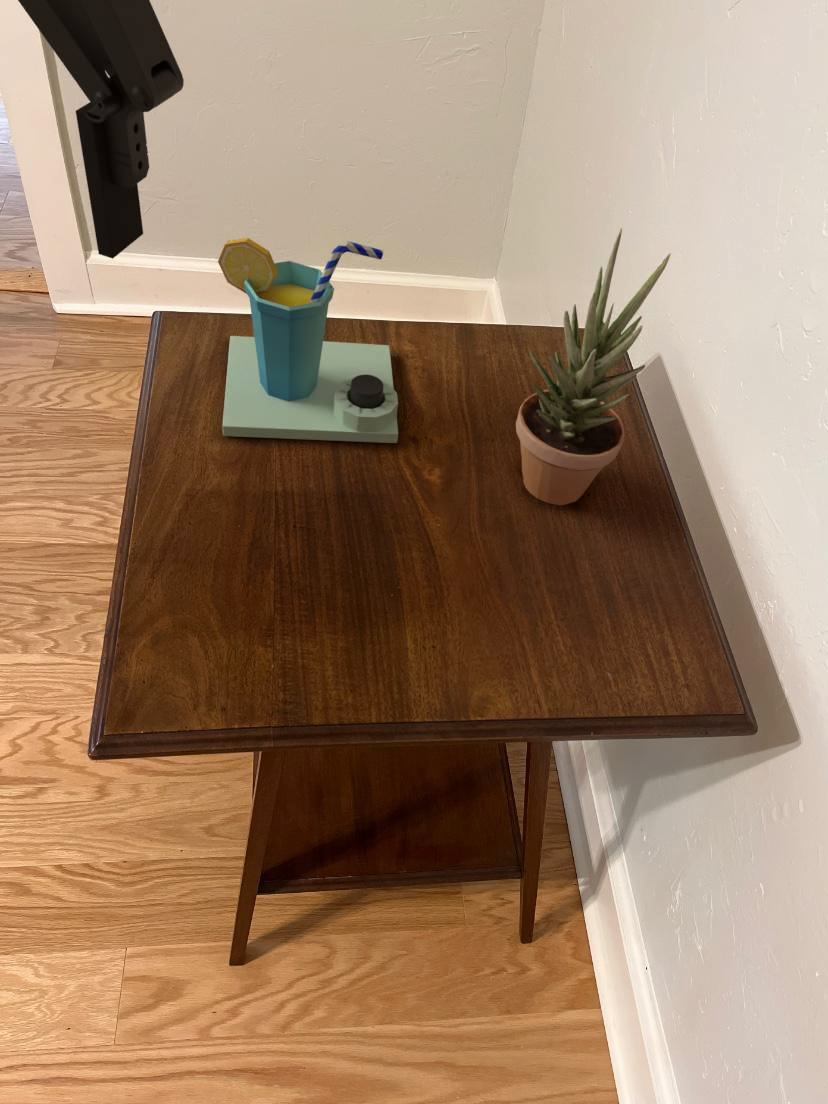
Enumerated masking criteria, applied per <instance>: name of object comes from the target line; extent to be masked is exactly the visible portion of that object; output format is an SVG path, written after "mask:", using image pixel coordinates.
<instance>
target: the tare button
mask: <svg viewBox="0 0 828 1104" xmlns="http://www.w3.org/2000/svg"><path fill="white" fill-rule="evenodd" d="M382 396H383V383H382V381H381V380H380V379H379V378H377V377H375V376H372V375H359V376H356V377H354V378H353V379H352V381H351V390H350V400H351V402H352V404H353V405H355V406H357V407H360V408H363V409H374V408H377V407H378V406H380V404H381V403H382Z"/></svg>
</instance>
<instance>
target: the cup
mask: <svg viewBox="0 0 828 1104" xmlns="http://www.w3.org/2000/svg"><path fill="white" fill-rule="evenodd" d="M345 253H351V254H355V255H360V256H364V257H368V258H372V259H375V260H380V261H381V260H382V258H383V255H384V250H383V249H379V248H377V247H376V248H375V247H373V246H368V245H364V244H361V243H358V242H353V241H349V240H345V241H343V242H341V243H339V244H338V245H337V246H336V247H335V248H334V249H333V250H332V252H331V254H330V256H329V258H328V261H327V263H326V265H325V267H324V269H323V271H322V270H321V269H318V268H315V267H312V266H308V265H305V264H301V263H298V262H295V261H292V260H286V261H280V262H275V261H274V259H273V256H272V254H271V251H270V250H268V249H266V248H265V247H264V246H262V245H260V244H259V243H258V242H256V241H254V240H252V239H251V238H249V237H243V238H237V239H231V240H230V239H229V240H226V242H225V244H224V246H223V248H222V251H221V253H220V255H219V258H218V260H217V263H218V266H219V267H220V269H221V272H222V274H223V276H224V278H225V280H226V282H227V283H228V284H229V285H231V286H233V287H234V288H236V289H238V290H239V291H241V292H243V293H245V294H246V295H247V296H248V298H249V305H250V313H251V320H252V327H253V337H255V345H256V353H257V361H258V368H259V376H260V383H261V384H262V386H263V388H264V389H265V391H266V392H267V394H268V395H269V396H272V397H276V398H279V399H282V400H286V401H293V400H297V399H302V398H307V397H309V396H310V394H311V393H312V391H313V390H314V389H315V387H316V386H317V380H318V373H319V366H320V359H321V352H322V346H323V341H324V338H325V331H326V325H327V317H328V311H329V304H330V303H331V301H332V299H333V296H334V293H335V287H334V286H333V285H332V284H331V282H330V280H331V278H332V276H333V275H334V273H335V270H336V268H337V266H338V264H339V261H340V259H341V257H342V255H344V254H345Z"/></svg>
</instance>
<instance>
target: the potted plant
mask: <svg viewBox="0 0 828 1104" xmlns="http://www.w3.org/2000/svg"><path fill="white" fill-rule="evenodd" d="M622 234H623V228H622V227H621V228H620V229H619V231H618V233H617V235H616V238H615V241H614V244H613V246H612V250H611V253H610V255H609V258H608V262H607V265H606V269H605V273H604V277H603V266H602V265H601V266H600V268H599V271H598V274H597V279H596V283H595V286H594V292H593V294H592V296H591V299H590V301H589V305H588V309H587V314H586V319H585V325H584V331H583V338H582V343H581V338H580V329H579V320H578V311H577V305H576V303H574V304H573V307H572V315H571V318H570V314H569V311H568V310H565V311H564V315H563V332H564V343H565V349H566V352H565V353H566V359H567V365H568V369H566V367H565V366H564V364H563V361H562V359H561V357H560V355H559V353H558V351H555V355H553V354H550V355H549V358H548V359H549V362H550V365H551V370H552V372H553V374H554V376H555V379H556V382H555V381H554V379H553V378H552V377H551V375H550V374H549V373H548V372H547V371H546V370H545V368H544V367H543V366H542V364H541V362H539V360H538V359H537V358H536V357H537V356H535V354H534V353H533V351H532V350H530V349H528V353H529V356H530V358H531V360H532V362H533V364H534V366H535V367H536V369H537V370H538V372H539V374H540V376H541V377H542V379H543V381H544V382H545V383H546V385H547V386H546V387H547V388H546V389H544V390H543V389H542V388H540V387H539V386H538V385H537V384H535V383H534V382H532V383H531V386H532V388H533V390H534V391H535V393H532V394H531V395H529V396H528V397H526V398H525V399H524V400H523V402H522V403H521V405H520V407H519V410H518V414H517V418H516V421H515V431H516V435H517V437H518V439H519V441H520V454H521V455H520V456H521V473H522V478H523V484H524V488H525V489H526V490H527V492H528V493H530V494H531V496H533V497H534V498H536V499H537V500H538V501H539V500H540V501H542V502H544V503H546V504H551V505H554V506H565V505H569V504H572V503H575V502H577V501H578V500H579V499H580V498H581V497H582V496H583V495H584V493H585V492H586V490H587V489H588V488H589V487H590V485H591V484H592V483H593V482H594V480H595V478H597V476H598V475H599V473H600V472H601V470H602V469H603V468H604V467H605V466H608V465H609V464H611V463H612V462H613V461H614V460H615V458H616V457H617V456H618V454H619V452H620V450H621V448H622V446H623V443H624V439H625V427H624V424H623V422H622V420H621V418H620V416H619V414H618V413H616V412H615V411H614V409H612V408H615V407H616V406H618V405H619V404H621V403H622V402H623V401H625V400H626V399H627V398H628V397H629V396H630V395H631V394H630V393H627V394H625V395H622V396H620V397H618V398H616V399H613V400H610V401H608V402H604V401H605V400H607V399H609V398H610V397H611V396H613V395H614V394H616V393H618V392H619V391H621V390H622V389H623V388H625V387H626V386H628V385H629V384H630V383H632V382H633V381H635V380H636V379H637V377H638V374H639V373H641V372H642V371H643V370H644V369H645V367H646V364H643V365H641V366H639V367H637V368H633V369H631V370H627V371H625V372H621V373H619V374H615V375H610V376H606V375H607V373H608V372H609V371H610V370H611V369H612V368H613V367H614V366H615V365H616V364H617V363H618V362H619V361H620V360H621V358H623V357H624V355H625V354H626V353H627V352H628V351H629V349H630V348H631V347H632V346H633V345H634V343H635V342H636V341H637V339H638V337H639V336H640V334H641V332H642V329H643V328H644V326H643V325H639V323H640V321H642V317H643V315H640V316H639V317H638V318H637V319H636V320H635V321H634V322H632V323H631V324H630V325H629V326H628V324H629V323H630V322H631V320H632V319H633V318H634V316H635V315H636V313H637V312H638V310H639V309H640V308H641V306H643V303H644V302H645V300H646V299H647V298H648V296H649V294H650V292H651V291H652V290H653V288H654V287H655V285H656V283H657V282H658V280H659V279H660V277H661V275H662V274H663V272H664V270H665V269H666V267H667V264H668V263H669V260H670V257H671V255H672V252H670V253H668V254H667V256H666V257H665V258H664V259H663V260H662V262H661V264H659V266H657V267H656V269H655V270H654V271H653V273H652V274H651V275H650V276H649V277H648V279H646V281H645V282H644V283H643V284H642V286H641V287H640V288H639V290H637V292H636V293H635V295H634V296H633V297H632V298H631V299H630V301H628V303H627V304H626V306H625V307H624V308H623V310H622V311H621V312H620V313H619V315H618V316H617V318H616V319H615V320H614V321H612V322H611V320H612V316H613V315H612V314H613V310H614V305H615V302H613V303H612V305H611V307H610V310H609V312H608V314H607V317H606V318H605V317H604V316H605V313H606V307H607V302H608V299H609V293H610V288H611V284H612V283H611V282H612V278H613V272H614V269H615V265H616V262H617V261H616V260H617V255H618V251H619V247H620V242H621V239H622ZM604 318H605V319H606V320H605V322H604ZM570 319H571V320H570ZM610 322H611V324H610ZM609 325H610V326H609ZM627 326H628V327H627ZM638 326H639V327H638ZM637 327H638V328H637ZM581 344H582V345H581ZM554 356H555V357H554Z"/></svg>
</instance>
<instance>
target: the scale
mask: <svg viewBox="0 0 828 1104" xmlns="http://www.w3.org/2000/svg"><path fill="white" fill-rule="evenodd" d="M228 344H229V346H228V357H227V369H226V379H225V392H224V404H223V414H222V415H223V416H222V423H221V424H222V436H223V437H239V438H260V439H261V438H263V439H284V440H285V439H286V440H287V439H288V440H311V441H333V442H334V441H335V442H355V443H357V442H358V443H359V442H360V443H379V444H383V443H384V444H397V443H398V439H399V427H398V417H397V416H398V409H399V398H398V393H397V391H396V390H395V388H394V387H395V386H394V377H393V376H394V375H393V367H392V366H393V365H392V357H391V347H390V345H389V344H373V343H361V342H360V343H358V342H340V341H325V340H323V346H322V352H321V359H320V366H319V373H318V380H317V386H316V387H315V389H314V390H313V391H312V393H311V394H310V396H309V397H307V398H302V399H297V400H293V401H286V400H282V399H279V398H276V397H272V396H269V395H268V394H267V392H266V391H265V389H264V388H263V386H262V384H261V383H260V376H259V368H258V361H257V353H256V345H255V337H254V336H243V335H230V336H229V343H228ZM359 375H372V376H375V377H377V378H379V379H380V380H381V381H382V383H383V396H382V403H381V404H380V406H378V407H377V408H374V409H363V408H360V407H357V406H355V405H353V404H352V402H351V400H350V390H351V381H352V379H353V378H354V377H356V376H359Z"/></svg>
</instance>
